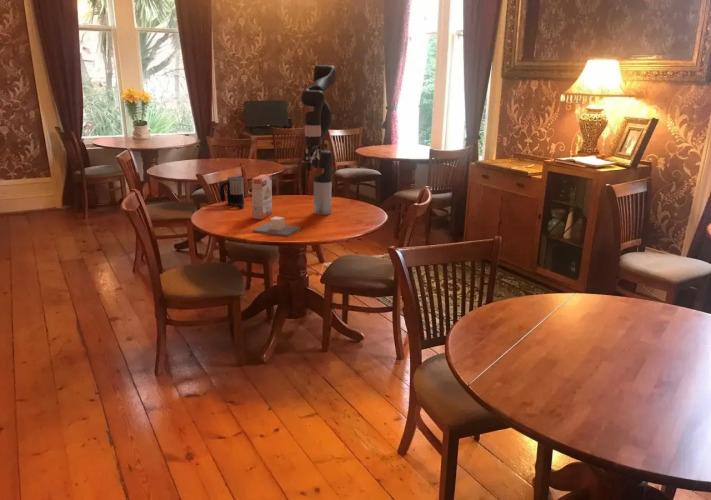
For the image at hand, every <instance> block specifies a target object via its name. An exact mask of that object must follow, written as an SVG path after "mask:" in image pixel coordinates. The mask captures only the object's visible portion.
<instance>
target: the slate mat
mask: <svg viewBox="0 0 711 500" xmlns="http://www.w3.org/2000/svg"><path fill="white" fill-rule="evenodd" d="M300 230H302V227H301V226H295V225H287V224H285V228H283V229H281V230H274V229H270V222H266V223H264V224H262V225H261V226H258V227H256V228H254V229H252V231H253V232H252V233H258V232H259V233H258V234H267V235H273V236H274V235H275V236H281V237H287V238H288V237H290V236H291V235H294V234H295V233H297V232H298V231H300Z"/></svg>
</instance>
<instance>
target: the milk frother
mask: <svg viewBox="0 0 711 500" xmlns="http://www.w3.org/2000/svg"><path fill="white" fill-rule="evenodd" d="M226 179H227V180H223V181H221V182H220V184H219V186H218V188H219V190H218V191H219V197H220V201H221V202H225V201H226V200H227V205H228V206H234V207H235V206H236V207H237V208H239V209H242V208H245V199H244V197H245V196H244V194H245V193H244V177H242V176H228V177H227V178H226ZM225 187H226V190H227V191H226V194H227V195H226V196H227V199H225V197H226V196H225Z"/></svg>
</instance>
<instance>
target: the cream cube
mask: <svg viewBox="0 0 711 500" xmlns="http://www.w3.org/2000/svg"><path fill="white" fill-rule="evenodd" d="M285 220H286V219H285V217H282V216H273V217H271V218H269V223H270V229H274V230H281V229H283V228H285V225H286V224H285V223H286V221H285Z"/></svg>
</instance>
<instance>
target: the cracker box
mask: <svg viewBox="0 0 711 500" xmlns="http://www.w3.org/2000/svg"><path fill="white" fill-rule="evenodd" d="M272 180H273V179H272V174H264V173H263V174H260V175H258V176H255V177H253V178H251V198H252V200H251V202H252V203H251V204H252V205H251V207H252V208H251V210H252V219H253V220H261V221H262V220H264V219H266V218H267V217H269V216H270V215H272V214H273V212H272V210H273V204H272V203H273V200H272V199H273V198H272V197H273V196H272V195H273V192H272V190H273V189H272V188H273V187H272V186H273V185H272V184H273V182H272Z"/></svg>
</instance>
